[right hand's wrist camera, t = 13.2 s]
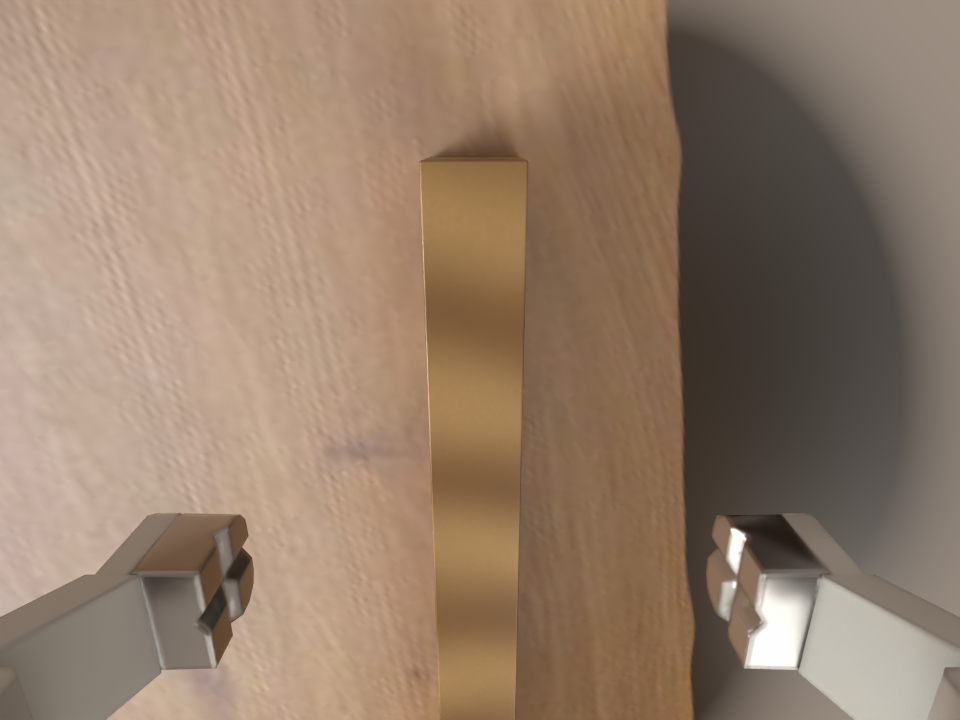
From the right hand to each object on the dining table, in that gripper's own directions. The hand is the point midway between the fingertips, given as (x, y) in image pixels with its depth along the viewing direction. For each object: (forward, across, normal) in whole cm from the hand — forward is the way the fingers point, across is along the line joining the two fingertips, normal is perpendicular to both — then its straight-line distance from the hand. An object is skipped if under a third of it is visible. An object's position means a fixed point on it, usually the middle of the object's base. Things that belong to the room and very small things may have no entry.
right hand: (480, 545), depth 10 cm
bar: (+25, 0, -29) cm, 39 cm away
